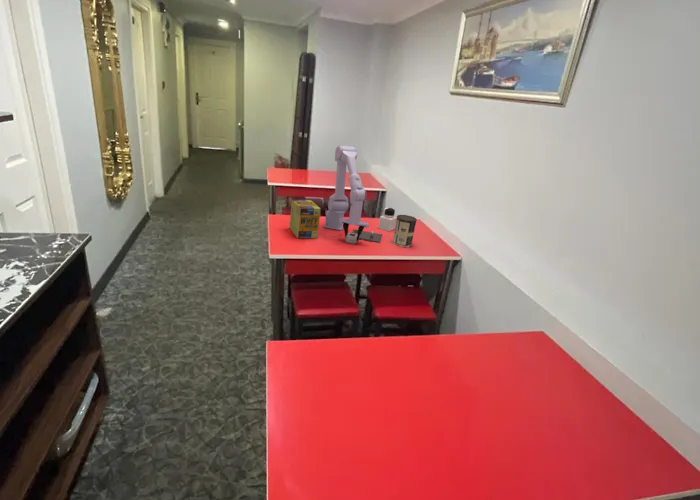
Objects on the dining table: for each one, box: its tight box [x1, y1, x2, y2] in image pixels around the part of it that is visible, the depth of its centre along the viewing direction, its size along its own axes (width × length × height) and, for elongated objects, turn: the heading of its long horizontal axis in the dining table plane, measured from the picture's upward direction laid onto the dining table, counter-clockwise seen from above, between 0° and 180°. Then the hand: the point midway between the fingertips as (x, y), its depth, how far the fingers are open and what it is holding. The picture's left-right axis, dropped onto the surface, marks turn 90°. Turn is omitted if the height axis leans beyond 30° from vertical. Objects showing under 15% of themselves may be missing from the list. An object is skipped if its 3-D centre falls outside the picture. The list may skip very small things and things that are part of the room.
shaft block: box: [351, 228, 383, 244], centre depth 201 cm, size 16×12×4 cm
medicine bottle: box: [378, 207, 397, 232], centre depth 217 cm, size 7×7×12 cm
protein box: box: [289, 199, 321, 239], centre depth 192 cm, size 10×15×16 cm
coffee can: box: [391, 214, 418, 248], centre depth 197 cm, size 10×10×14 cm
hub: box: [345, 231, 358, 245], centre depth 192 cm, size 5×5×4 cm
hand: (351, 238), depth 192 cm, fingers closed on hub, 5 cm apart
